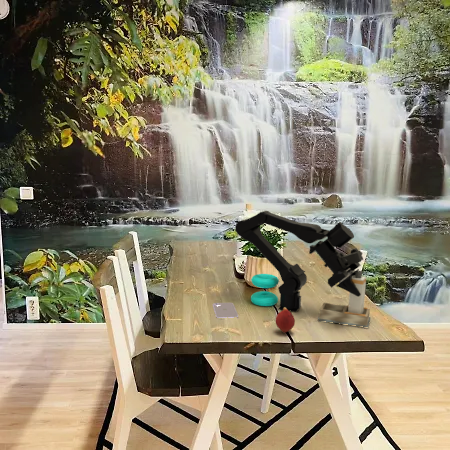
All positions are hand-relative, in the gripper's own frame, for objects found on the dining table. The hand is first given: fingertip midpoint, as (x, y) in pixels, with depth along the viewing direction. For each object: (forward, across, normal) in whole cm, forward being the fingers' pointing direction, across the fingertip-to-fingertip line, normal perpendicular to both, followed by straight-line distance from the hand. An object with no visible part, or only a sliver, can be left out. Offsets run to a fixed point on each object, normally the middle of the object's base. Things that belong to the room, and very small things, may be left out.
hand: (361, 294), depth 148 cm
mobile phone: (-22, -15, +38) cm, 46 cm away
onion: (-5, -21, +19) cm, 29 cm away
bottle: (+4, 0, +6) cm, 7 cm away
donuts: (-17, 0, +32) cm, 36 cm away
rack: (+4, -1, +10) cm, 11 cm away
